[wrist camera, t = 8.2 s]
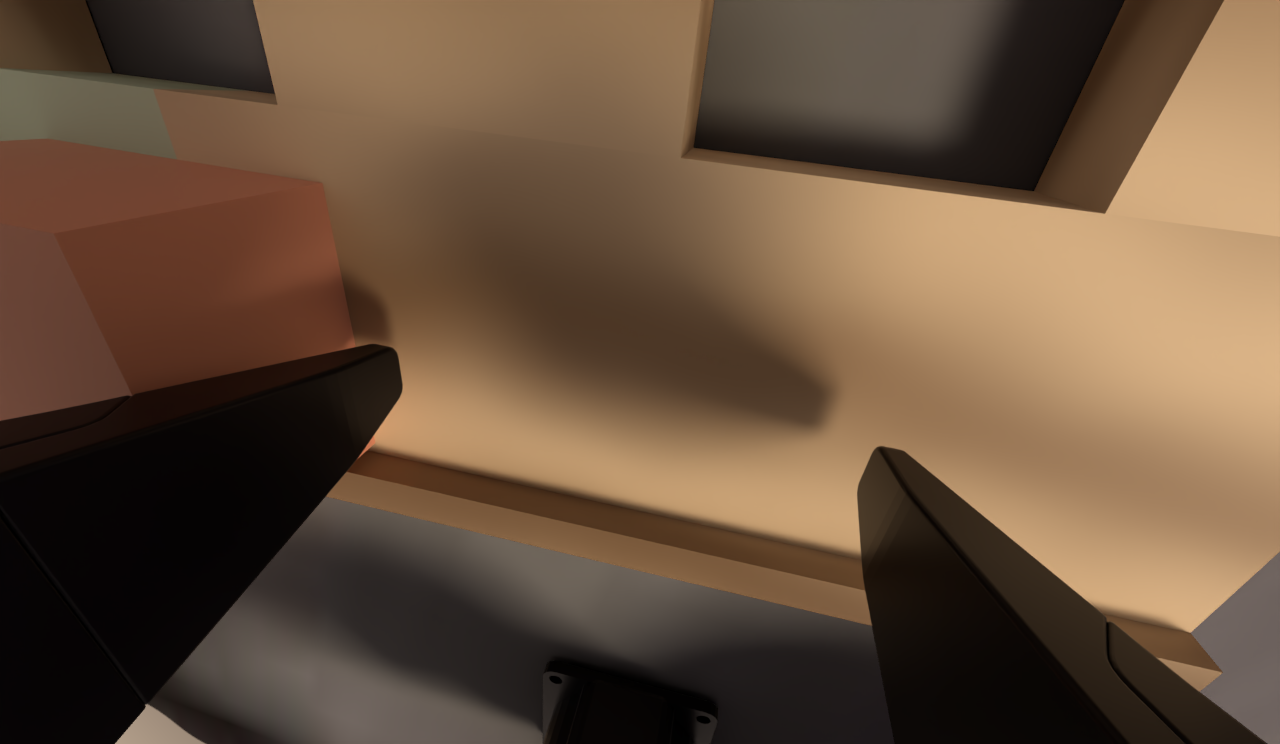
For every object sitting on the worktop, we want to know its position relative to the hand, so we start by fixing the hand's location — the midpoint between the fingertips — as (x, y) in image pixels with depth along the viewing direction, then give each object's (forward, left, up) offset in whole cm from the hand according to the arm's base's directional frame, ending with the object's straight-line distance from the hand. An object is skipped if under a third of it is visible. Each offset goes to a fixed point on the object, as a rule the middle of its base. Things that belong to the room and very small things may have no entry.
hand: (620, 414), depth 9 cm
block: (0, +9, -1) cm, 9 cm away
